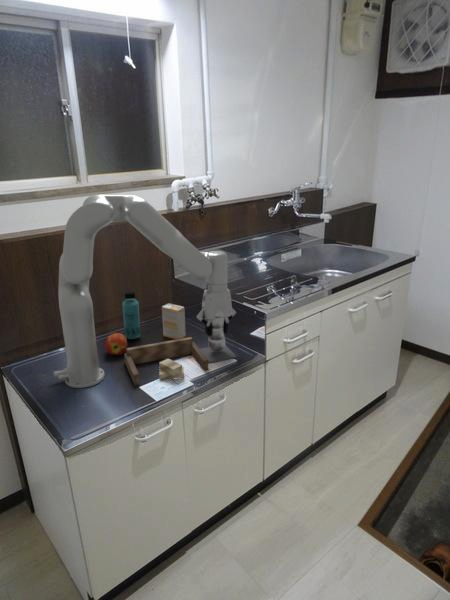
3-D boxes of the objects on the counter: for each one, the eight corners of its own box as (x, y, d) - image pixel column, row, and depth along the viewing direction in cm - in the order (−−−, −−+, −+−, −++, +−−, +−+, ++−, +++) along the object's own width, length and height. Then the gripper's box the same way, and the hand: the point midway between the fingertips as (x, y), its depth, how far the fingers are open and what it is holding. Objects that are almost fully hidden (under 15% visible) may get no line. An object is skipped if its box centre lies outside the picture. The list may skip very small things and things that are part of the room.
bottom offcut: (159, 380, 140) (159, 374, 139) (160, 374, 144) (159, 368, 143) (183, 379, 141) (183, 373, 140) (183, 373, 144) (183, 367, 144)
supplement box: (186, 336, 171) (185, 306, 167) (178, 341, 168) (177, 310, 163) (170, 332, 175) (169, 302, 171) (162, 336, 172) (161, 306, 167)
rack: (134, 385, 136) (133, 369, 134) (125, 363, 150) (123, 348, 148) (208, 370, 146) (208, 354, 144) (193, 350, 160) (192, 336, 158)
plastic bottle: (226, 345, 159) (226, 295, 152) (224, 353, 153) (224, 301, 146) (209, 344, 160) (208, 294, 153) (206, 352, 153) (206, 301, 147)
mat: (208, 363, 150) (208, 362, 150) (197, 350, 160) (197, 349, 160) (236, 357, 154) (236, 356, 154) (224, 345, 164) (224, 344, 164)
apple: (105, 359, 153) (103, 339, 150) (106, 349, 160) (104, 330, 158) (128, 357, 154) (126, 337, 151) (128, 347, 162) (126, 328, 159)
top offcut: (159, 369, 142) (159, 362, 141) (168, 364, 145) (168, 358, 144) (173, 376, 138) (173, 369, 137) (182, 371, 141) (182, 365, 140)
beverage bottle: (123, 336, 171) (119, 290, 164) (140, 334, 173) (137, 288, 166) (125, 343, 165) (121, 295, 158) (142, 341, 167) (139, 293, 160)
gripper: (197, 292, 142) (197, 341, 148) (243, 286, 148) (242, 333, 154) (189, 286, 148) (190, 333, 154) (234, 280, 154) (233, 326, 161)
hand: (216, 333), depth 154 cm, fingers closed on plastic bottle, 5 cm apart
